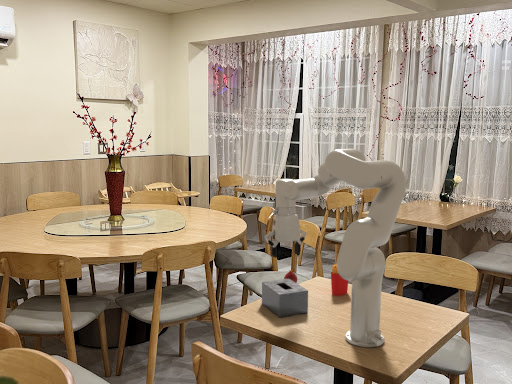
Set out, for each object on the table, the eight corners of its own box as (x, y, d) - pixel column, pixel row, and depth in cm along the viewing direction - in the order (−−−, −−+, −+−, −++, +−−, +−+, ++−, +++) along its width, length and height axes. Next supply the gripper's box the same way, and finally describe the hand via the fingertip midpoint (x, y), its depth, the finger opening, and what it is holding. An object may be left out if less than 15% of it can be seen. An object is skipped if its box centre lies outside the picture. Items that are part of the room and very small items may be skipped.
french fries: (335, 296, 206) (335, 266, 205) (328, 293, 210) (329, 264, 208) (351, 293, 211) (352, 263, 210) (344, 290, 215) (345, 261, 213)
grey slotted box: (307, 313, 188) (308, 290, 186) (279, 317, 183) (279, 294, 182) (288, 299, 202) (288, 278, 201) (261, 303, 198) (262, 282, 196)
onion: (298, 286, 220) (298, 268, 219) (295, 290, 215) (296, 272, 214) (285, 285, 222) (285, 267, 221) (282, 288, 216) (282, 271, 215)
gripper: (269, 214, 181) (269, 260, 183) (310, 211, 188) (310, 255, 189) (260, 211, 188) (261, 256, 189) (301, 208, 194) (301, 251, 196)
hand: (286, 255), depth 189 cm, fingers open, 9 cm apart
